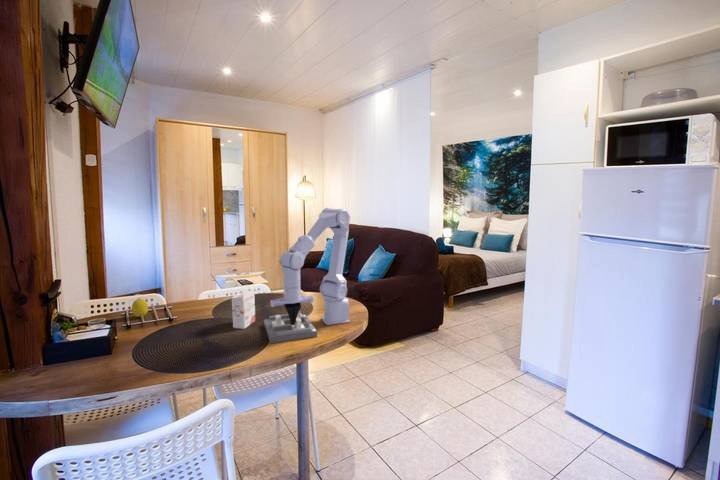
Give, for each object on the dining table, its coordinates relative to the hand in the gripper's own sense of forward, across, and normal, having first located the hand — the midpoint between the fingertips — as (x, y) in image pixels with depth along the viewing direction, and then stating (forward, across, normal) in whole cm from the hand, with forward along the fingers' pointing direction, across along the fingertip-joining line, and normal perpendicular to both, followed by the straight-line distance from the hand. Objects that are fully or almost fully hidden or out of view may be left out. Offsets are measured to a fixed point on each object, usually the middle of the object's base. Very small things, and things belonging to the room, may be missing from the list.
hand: (292, 324), depth 123 cm
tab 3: (+2, -2, 0) cm, 3 cm away
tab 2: (+2, -4, -11) cm, 12 cm away
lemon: (+5, +53, -39) cm, 66 cm away
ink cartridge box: (+5, +15, -18) cm, 24 cm away
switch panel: (+4, 0, -6) cm, 7 cm away
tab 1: (+2, +4, -6) cm, 7 cm away
